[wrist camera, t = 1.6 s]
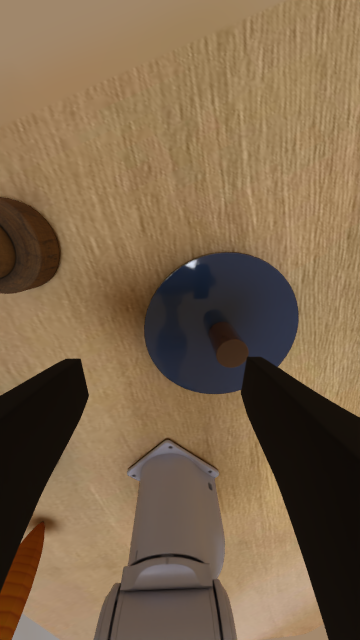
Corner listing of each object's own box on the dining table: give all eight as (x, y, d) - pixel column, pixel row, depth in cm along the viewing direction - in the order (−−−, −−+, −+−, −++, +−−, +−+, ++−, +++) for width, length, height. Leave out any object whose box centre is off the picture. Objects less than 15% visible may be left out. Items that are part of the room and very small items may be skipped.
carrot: (18, 521, 29) (-127, 779, 15) (39, 509, 28) (-95, 772, 14) (45, 534, 30) (-63, 779, 17) (66, 522, 29) (-30, 773, 16)
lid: (319, 324, 18) (364, 349, 14) (214, 407, 22) (224, 446, 18) (224, 212, 15) (245, 199, 10) (115, 332, 18) (97, 360, 14)
